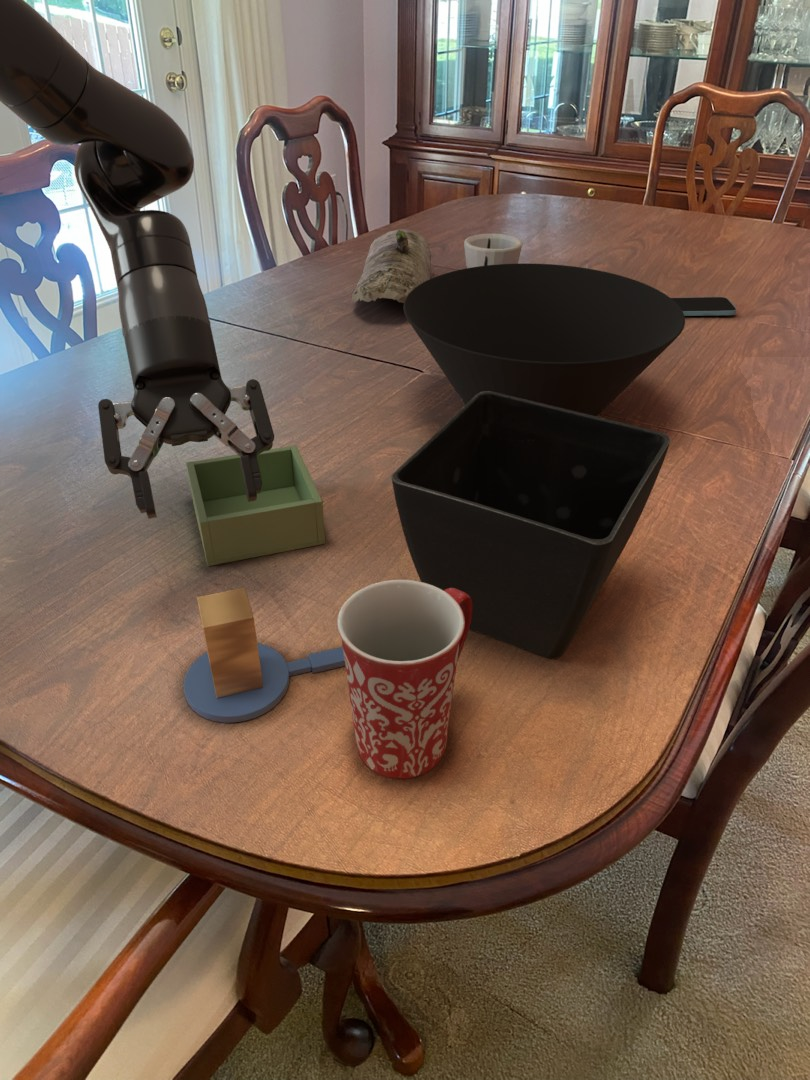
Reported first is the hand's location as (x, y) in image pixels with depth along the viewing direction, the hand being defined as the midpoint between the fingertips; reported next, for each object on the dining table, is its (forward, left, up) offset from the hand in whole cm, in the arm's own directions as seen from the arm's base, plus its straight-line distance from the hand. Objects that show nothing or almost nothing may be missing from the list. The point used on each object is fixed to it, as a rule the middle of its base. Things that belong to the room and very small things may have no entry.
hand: (203, 507), depth 70 cm
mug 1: (+13, -19, -13) cm, 26 cm away
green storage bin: (+6, +15, -13) cm, 21 cm away
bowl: (+47, +30, -13) cm, 58 cm away
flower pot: (+28, -7, -13) cm, 32 cm away
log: (+43, +80, -13) cm, 92 cm away
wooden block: (0, -9, -12) cm, 15 cm away
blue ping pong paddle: (+5, -9, -13) cm, 16 cm away
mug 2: (+61, +77, -13) cm, 99 cm away
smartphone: (+91, +57, -13) cm, 108 cm away
